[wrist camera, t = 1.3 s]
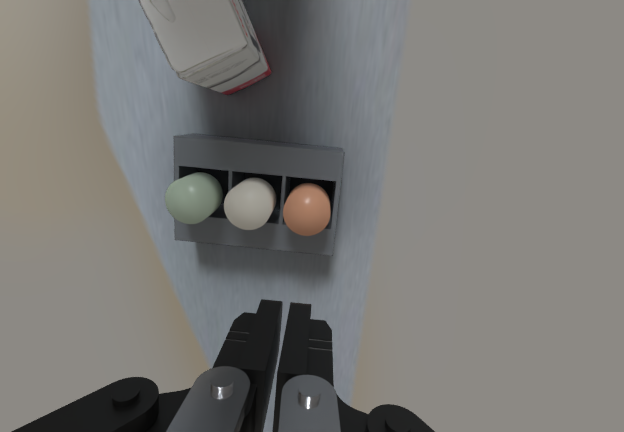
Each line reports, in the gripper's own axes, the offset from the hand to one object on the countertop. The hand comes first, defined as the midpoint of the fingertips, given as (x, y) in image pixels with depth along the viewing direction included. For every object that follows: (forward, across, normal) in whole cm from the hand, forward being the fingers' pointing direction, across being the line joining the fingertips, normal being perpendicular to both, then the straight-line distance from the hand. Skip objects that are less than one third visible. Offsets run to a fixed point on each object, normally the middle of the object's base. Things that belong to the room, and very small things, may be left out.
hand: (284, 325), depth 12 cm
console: (+23, +4, 0) cm, 23 cm away
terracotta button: (+18, 0, 0) cm, 18 cm away
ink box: (+23, +8, -13) cm, 28 cm away
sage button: (+18, +9, 0) cm, 20 cm away
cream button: (+18, +4, 0) cm, 19 cm away
